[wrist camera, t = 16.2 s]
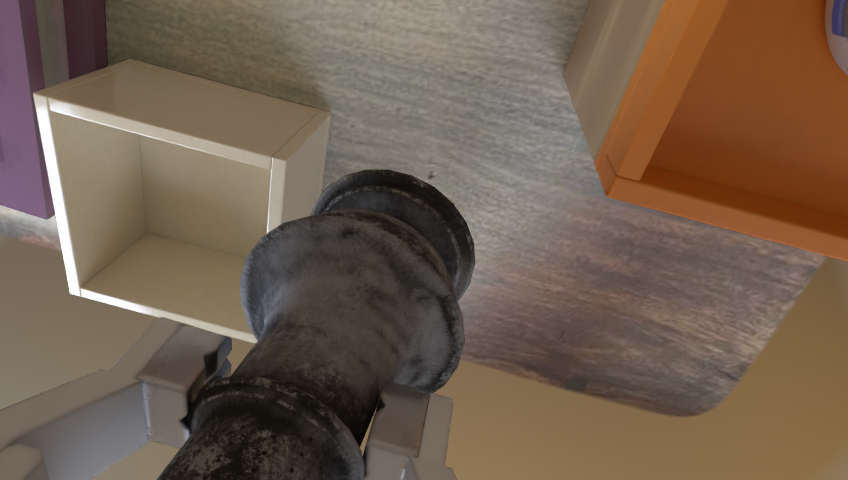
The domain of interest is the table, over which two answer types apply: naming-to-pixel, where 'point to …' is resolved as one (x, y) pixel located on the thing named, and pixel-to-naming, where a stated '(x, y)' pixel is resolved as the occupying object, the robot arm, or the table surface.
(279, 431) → the chess bishop
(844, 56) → the pill bottle
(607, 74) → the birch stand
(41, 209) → the book
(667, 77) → the amber tray
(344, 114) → the table surface
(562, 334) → the table surface
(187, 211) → the cream bin
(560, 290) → the table surface
